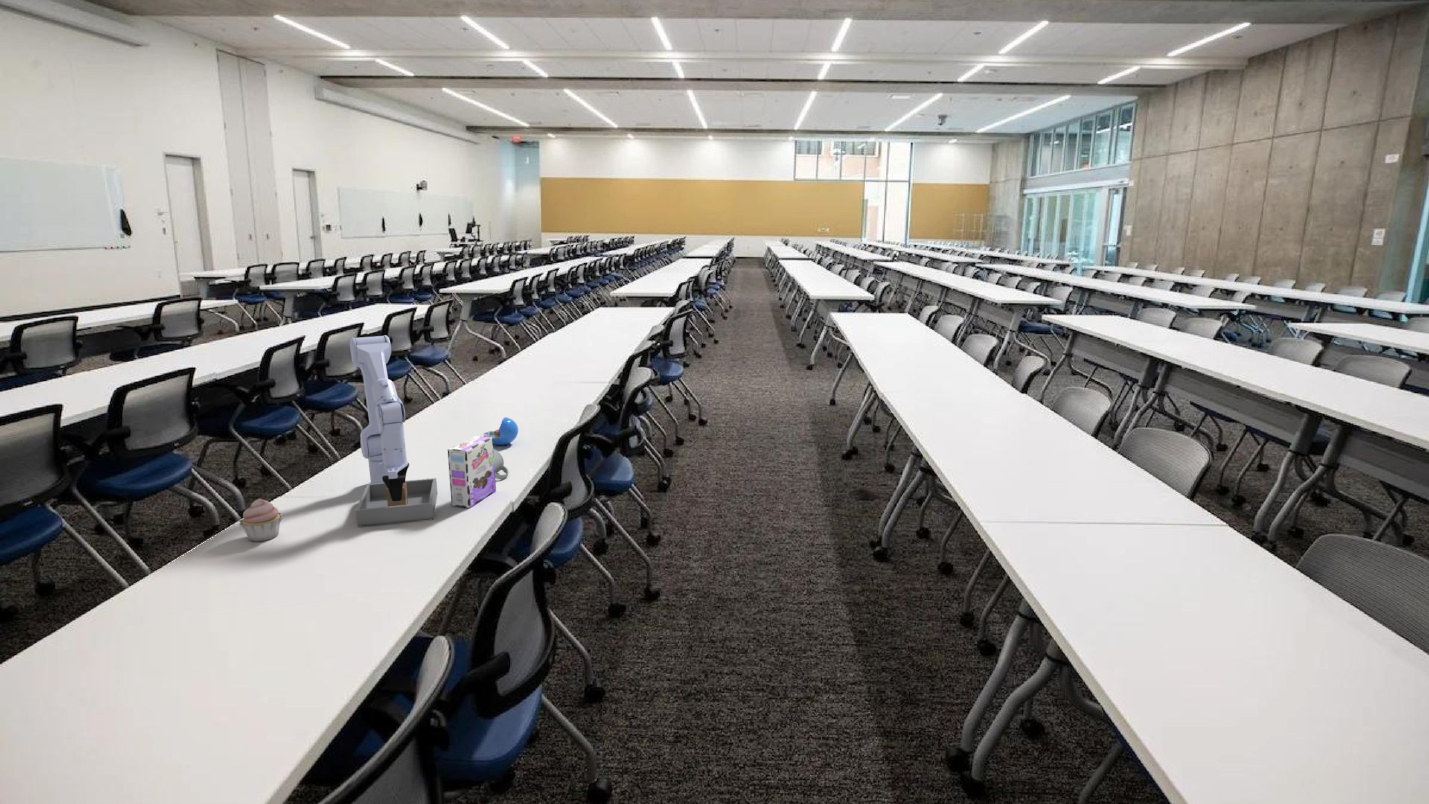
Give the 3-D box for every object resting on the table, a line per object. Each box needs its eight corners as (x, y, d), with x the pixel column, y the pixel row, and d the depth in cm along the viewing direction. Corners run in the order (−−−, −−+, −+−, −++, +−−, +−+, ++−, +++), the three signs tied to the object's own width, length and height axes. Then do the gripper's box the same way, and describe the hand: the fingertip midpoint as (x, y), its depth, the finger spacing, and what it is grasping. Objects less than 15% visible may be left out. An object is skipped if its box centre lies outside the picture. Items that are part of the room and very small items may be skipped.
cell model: (490, 439, 264) (488, 413, 261) (523, 440, 263) (521, 414, 260) (479, 447, 254) (477, 420, 252) (513, 449, 253) (511, 422, 251)
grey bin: (368, 499, 207) (367, 484, 206) (437, 493, 212) (436, 478, 211) (357, 527, 189) (355, 510, 188) (433, 519, 194) (431, 503, 193)
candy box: (470, 508, 201) (465, 450, 197) (450, 506, 203) (446, 448, 199) (497, 491, 214) (493, 436, 210) (478, 489, 216) (474, 434, 212)
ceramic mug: (468, 479, 223) (467, 455, 222) (482, 470, 231) (481, 447, 229) (500, 483, 221) (499, 458, 219) (513, 474, 229) (512, 450, 227)
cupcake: (265, 546, 177) (260, 507, 175) (232, 543, 179) (226, 504, 177) (294, 531, 186) (289, 493, 184) (262, 527, 188) (257, 490, 186)
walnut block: (390, 505, 202) (388, 484, 200) (408, 503, 203) (406, 482, 202) (388, 511, 198) (386, 489, 196) (406, 509, 199) (404, 488, 197)
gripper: (380, 440, 202) (385, 487, 205) (373, 456, 188) (378, 506, 192) (408, 438, 204) (413, 485, 207) (403, 454, 190) (408, 504, 194)
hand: (398, 495), depth 200 cm, fingers open, 7 cm apart
